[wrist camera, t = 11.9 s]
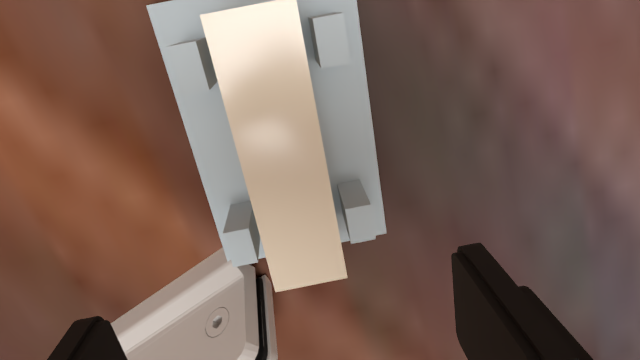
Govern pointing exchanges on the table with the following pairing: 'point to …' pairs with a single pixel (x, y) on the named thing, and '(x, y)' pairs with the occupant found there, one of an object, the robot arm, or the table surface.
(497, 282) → the robot arm
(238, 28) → the clay bar
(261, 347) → the white router
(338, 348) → the table surface
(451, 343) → the table surface
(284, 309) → the table surface
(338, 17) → the rack
